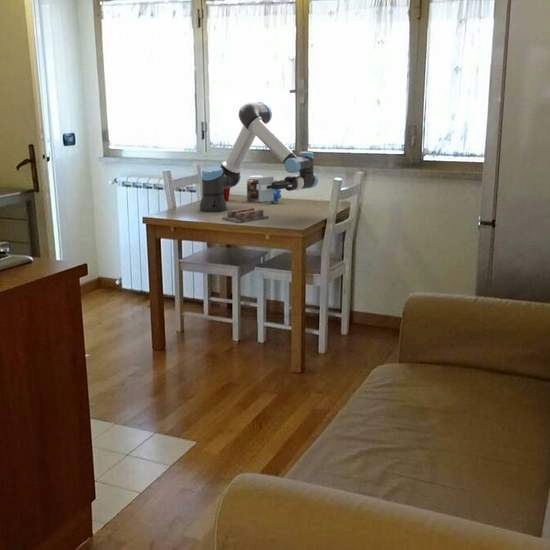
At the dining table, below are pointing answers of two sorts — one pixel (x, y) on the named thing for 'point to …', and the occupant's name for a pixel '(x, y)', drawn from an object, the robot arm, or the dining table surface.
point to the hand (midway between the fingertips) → (259, 187)
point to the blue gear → (276, 195)
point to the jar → (253, 189)
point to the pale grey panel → (266, 194)
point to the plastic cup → (226, 193)
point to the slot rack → (245, 215)
